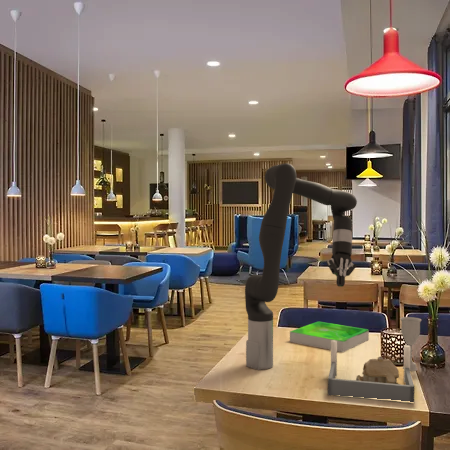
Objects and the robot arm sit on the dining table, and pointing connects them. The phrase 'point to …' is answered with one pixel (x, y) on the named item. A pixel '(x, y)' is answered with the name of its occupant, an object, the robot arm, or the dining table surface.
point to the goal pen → (371, 388)
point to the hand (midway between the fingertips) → (340, 286)
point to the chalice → (410, 335)
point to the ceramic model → (379, 371)
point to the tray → (329, 336)
